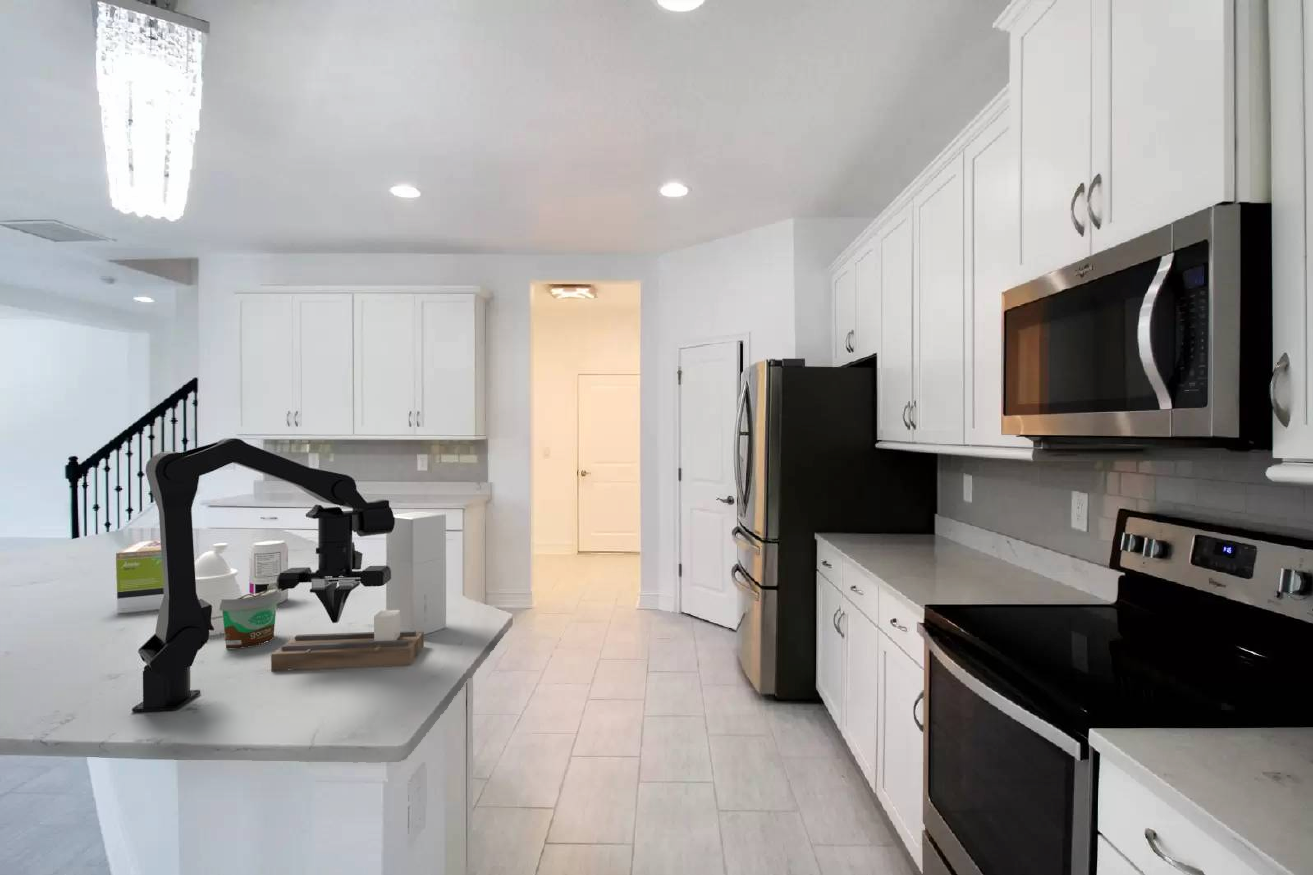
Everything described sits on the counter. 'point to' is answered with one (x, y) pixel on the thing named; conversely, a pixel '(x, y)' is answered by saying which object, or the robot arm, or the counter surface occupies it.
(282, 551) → the supplement can
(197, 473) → the robot arm
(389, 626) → the slider tab
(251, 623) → the food container
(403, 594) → the tall white carton
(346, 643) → the slider track
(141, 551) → the tea box
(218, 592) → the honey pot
